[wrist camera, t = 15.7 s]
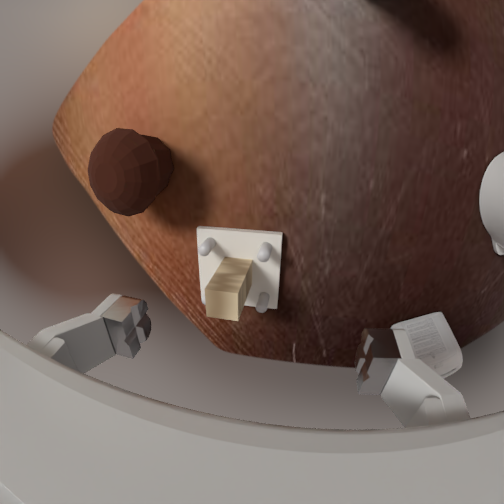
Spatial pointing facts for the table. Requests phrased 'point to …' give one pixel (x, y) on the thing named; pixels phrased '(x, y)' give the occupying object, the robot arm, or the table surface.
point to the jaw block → (229, 288)
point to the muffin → (129, 170)
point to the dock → (245, 247)
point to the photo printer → (433, 343)
